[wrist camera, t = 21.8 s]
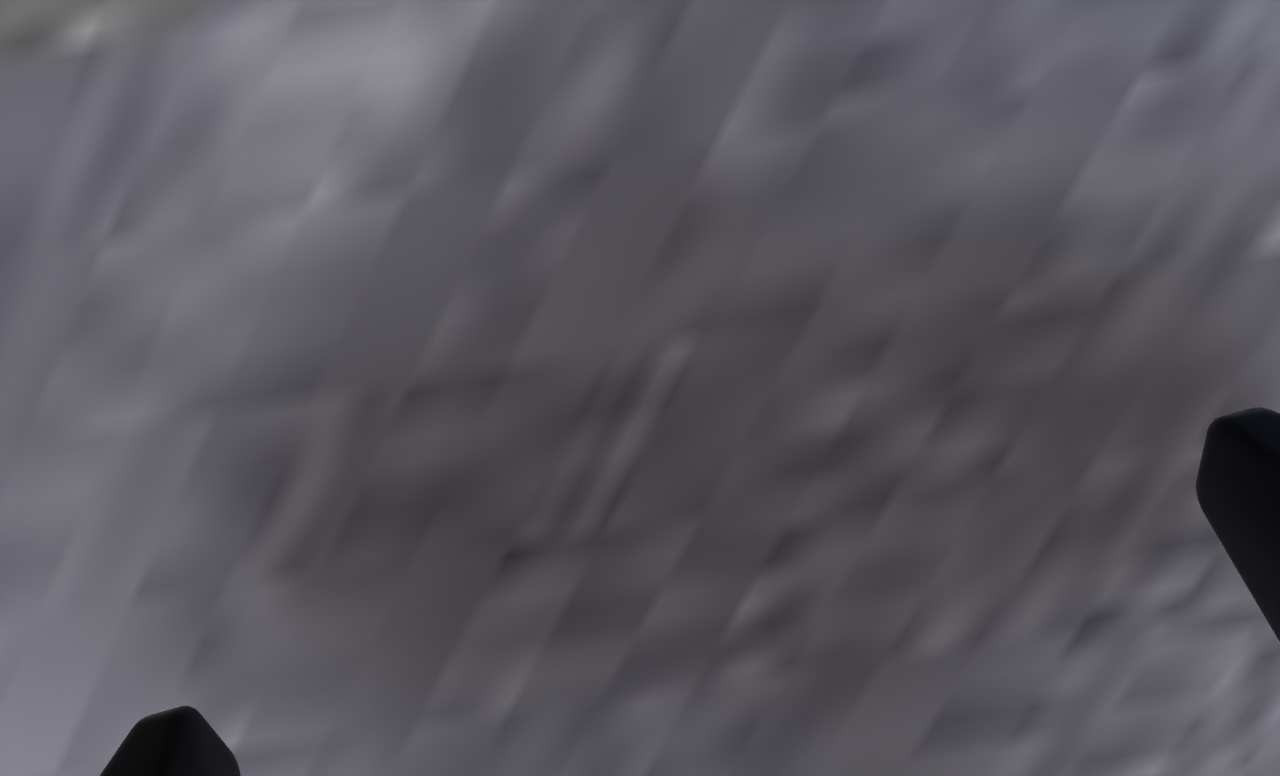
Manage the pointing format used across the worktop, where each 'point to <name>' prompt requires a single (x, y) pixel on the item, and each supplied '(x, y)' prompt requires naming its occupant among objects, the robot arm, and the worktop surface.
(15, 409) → the worktop surface
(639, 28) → the worktop surface
